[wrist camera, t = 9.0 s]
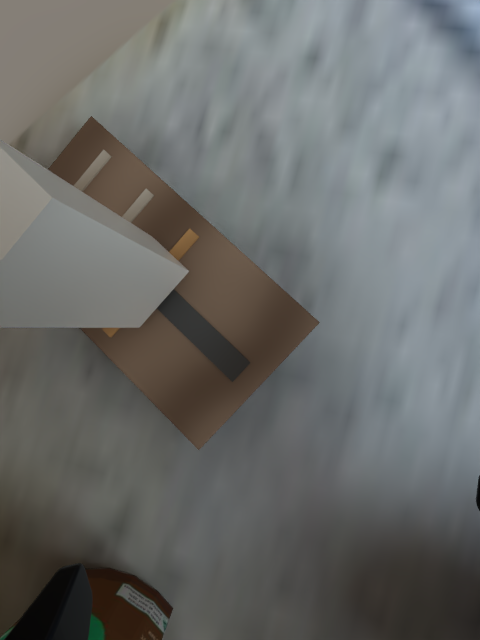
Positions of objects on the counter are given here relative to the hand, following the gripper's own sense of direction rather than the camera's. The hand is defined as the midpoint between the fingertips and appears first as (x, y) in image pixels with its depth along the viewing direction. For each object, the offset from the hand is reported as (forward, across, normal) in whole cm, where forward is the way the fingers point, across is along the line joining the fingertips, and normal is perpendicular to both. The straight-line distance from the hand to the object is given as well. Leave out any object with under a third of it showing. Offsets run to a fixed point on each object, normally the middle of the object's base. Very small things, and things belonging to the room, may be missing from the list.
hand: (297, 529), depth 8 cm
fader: (+11, +3, -4) cm, 12 cm away
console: (+13, +3, -4) cm, 14 cm away
